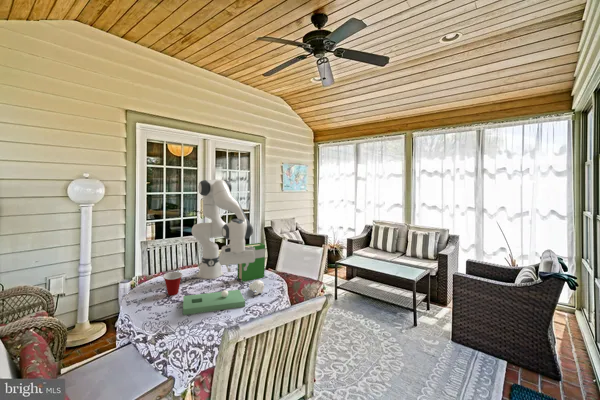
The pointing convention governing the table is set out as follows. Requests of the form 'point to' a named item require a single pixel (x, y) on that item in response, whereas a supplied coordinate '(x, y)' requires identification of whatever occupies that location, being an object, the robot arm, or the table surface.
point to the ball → (224, 293)
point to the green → (212, 302)
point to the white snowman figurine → (257, 287)
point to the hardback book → (253, 264)
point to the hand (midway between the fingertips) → (237, 271)
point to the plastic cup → (172, 282)
